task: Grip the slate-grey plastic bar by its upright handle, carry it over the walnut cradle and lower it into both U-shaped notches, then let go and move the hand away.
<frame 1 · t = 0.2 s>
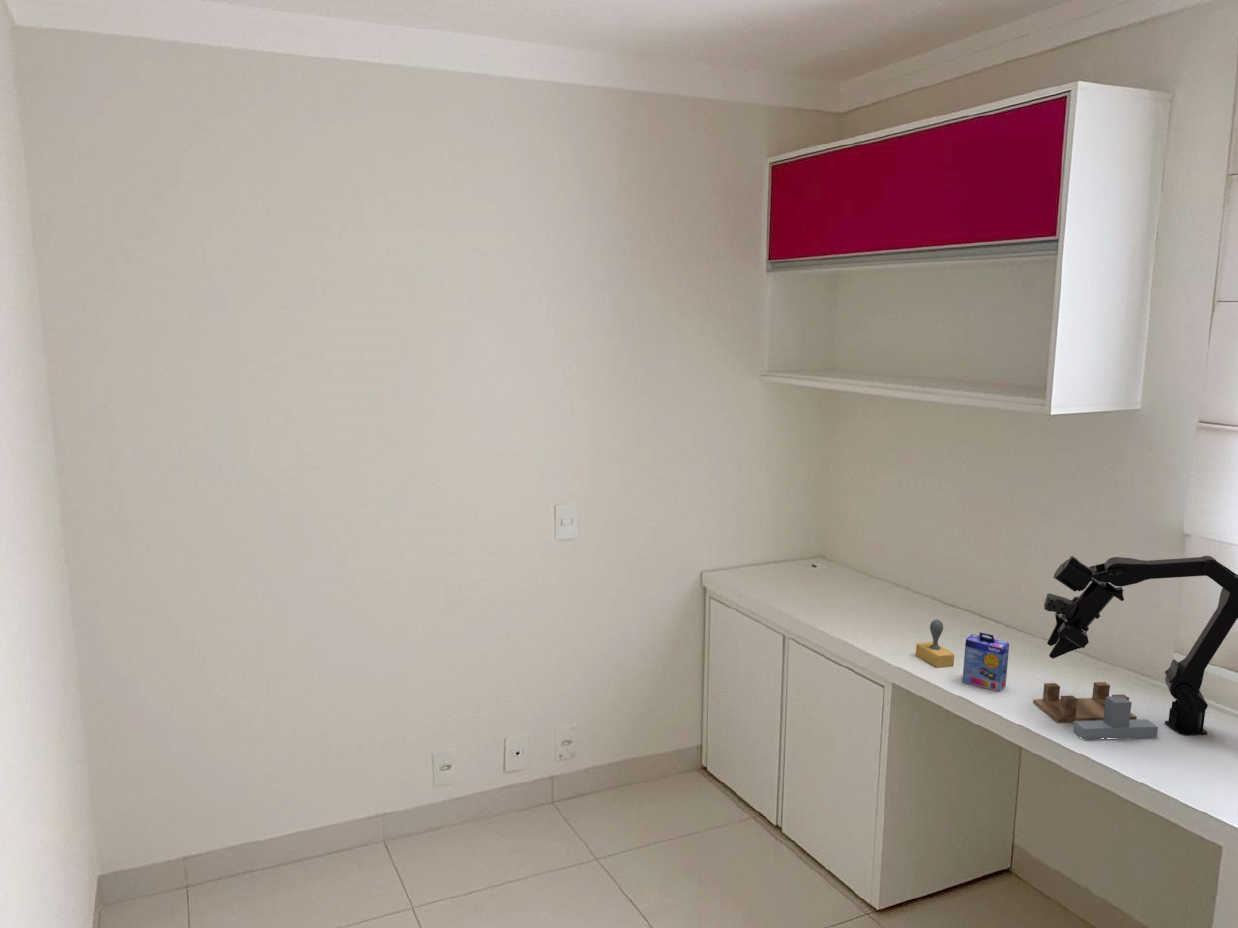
hand: (1049, 650, 227), 15 cm above the table, tool tilted 30°, fingers open, 9 cm apart
ink cartridge box: (983, 685, 243), on the table
bar: (1114, 735, 215), on the table
rubber stamp: (934, 661, 259), on the table
cradle: (1083, 711, 227), on the table
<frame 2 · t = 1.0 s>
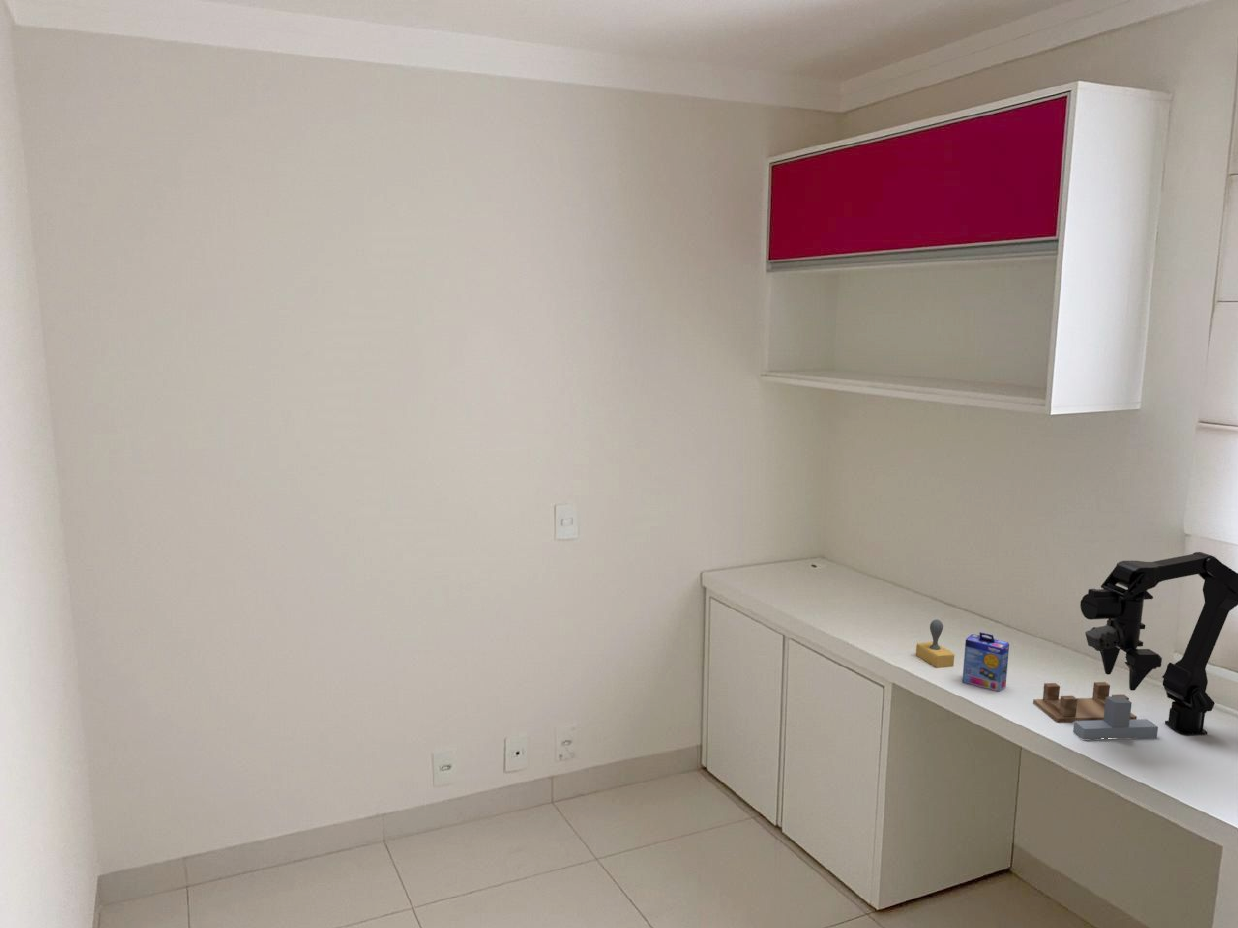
hand: (1119, 681, 213), 13 cm above the table, tool pointing down, fingers open, 9 cm apart
nothing on the table moved.
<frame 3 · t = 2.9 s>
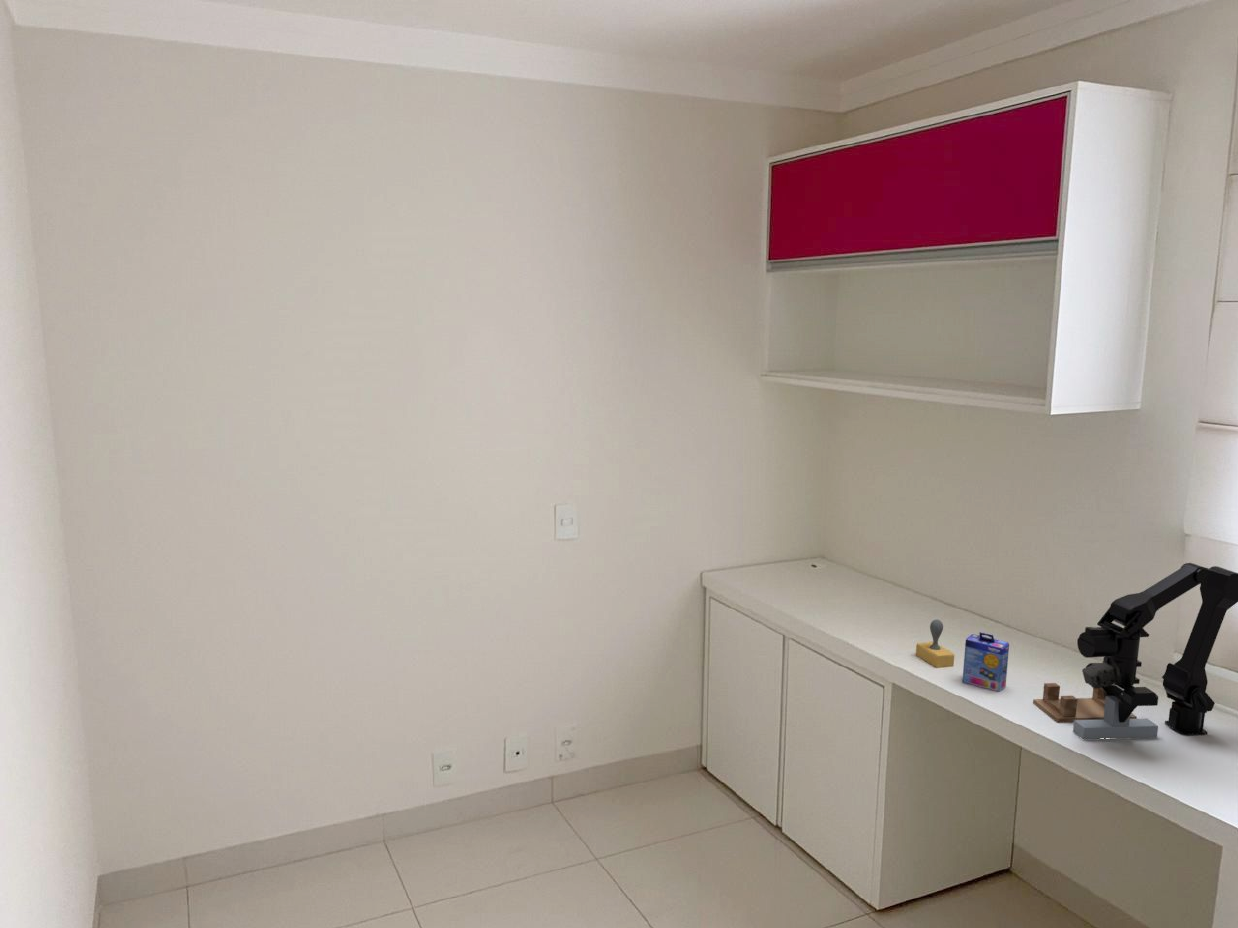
hand: (1116, 718, 214), 4 cm above the table, tool pointing down, fingers closed on bar, 3 cm apart
bar: (1114, 735, 215), on the table, touching gripper
everything else where it was.
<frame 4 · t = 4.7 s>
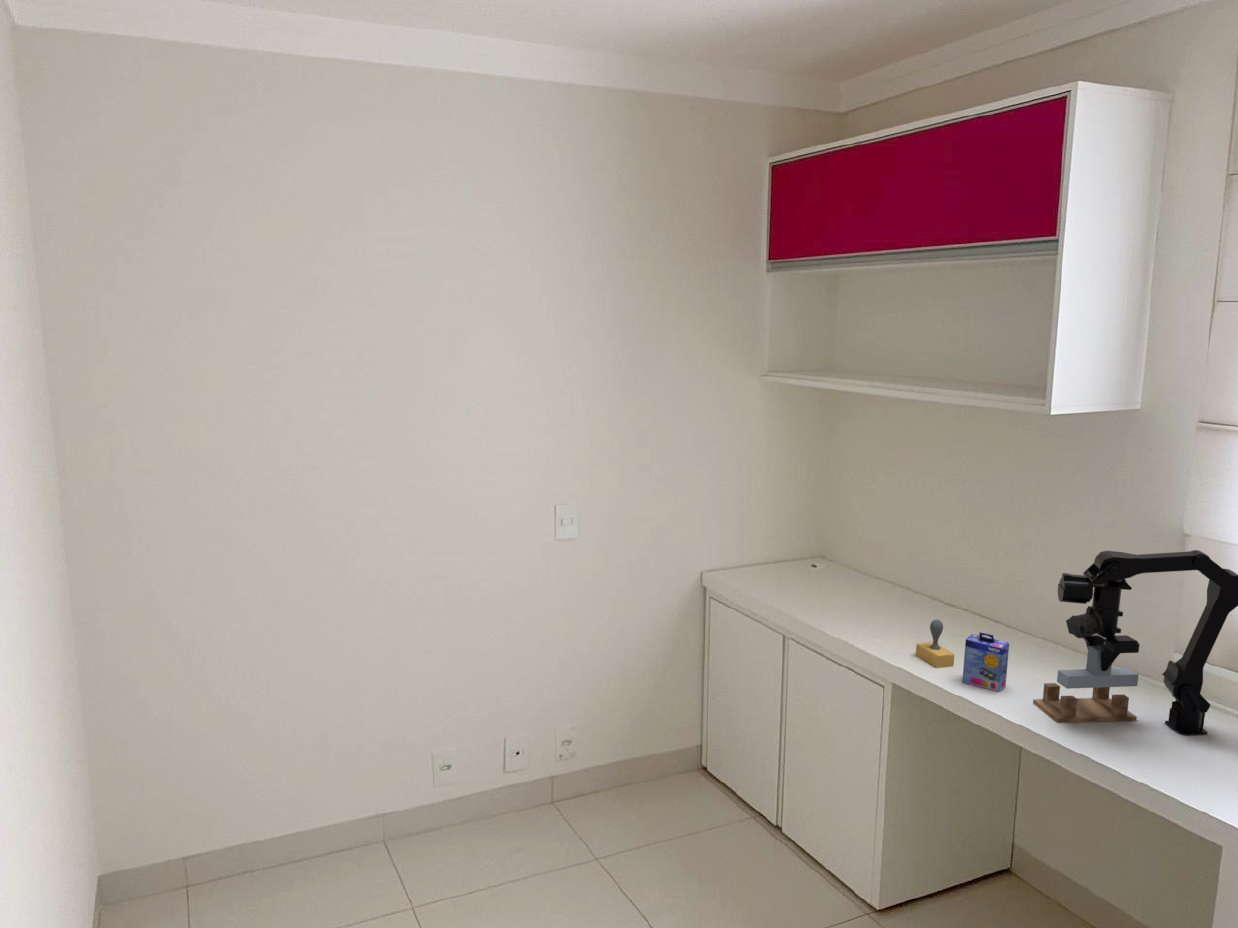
hand: (1098, 667, 221), 13 cm above the table, tool pointing down, fingers closed on bar, 3 cm apart
bar: (1096, 683, 222), point 9 cm above the table, touching gripper
everything else where it was.
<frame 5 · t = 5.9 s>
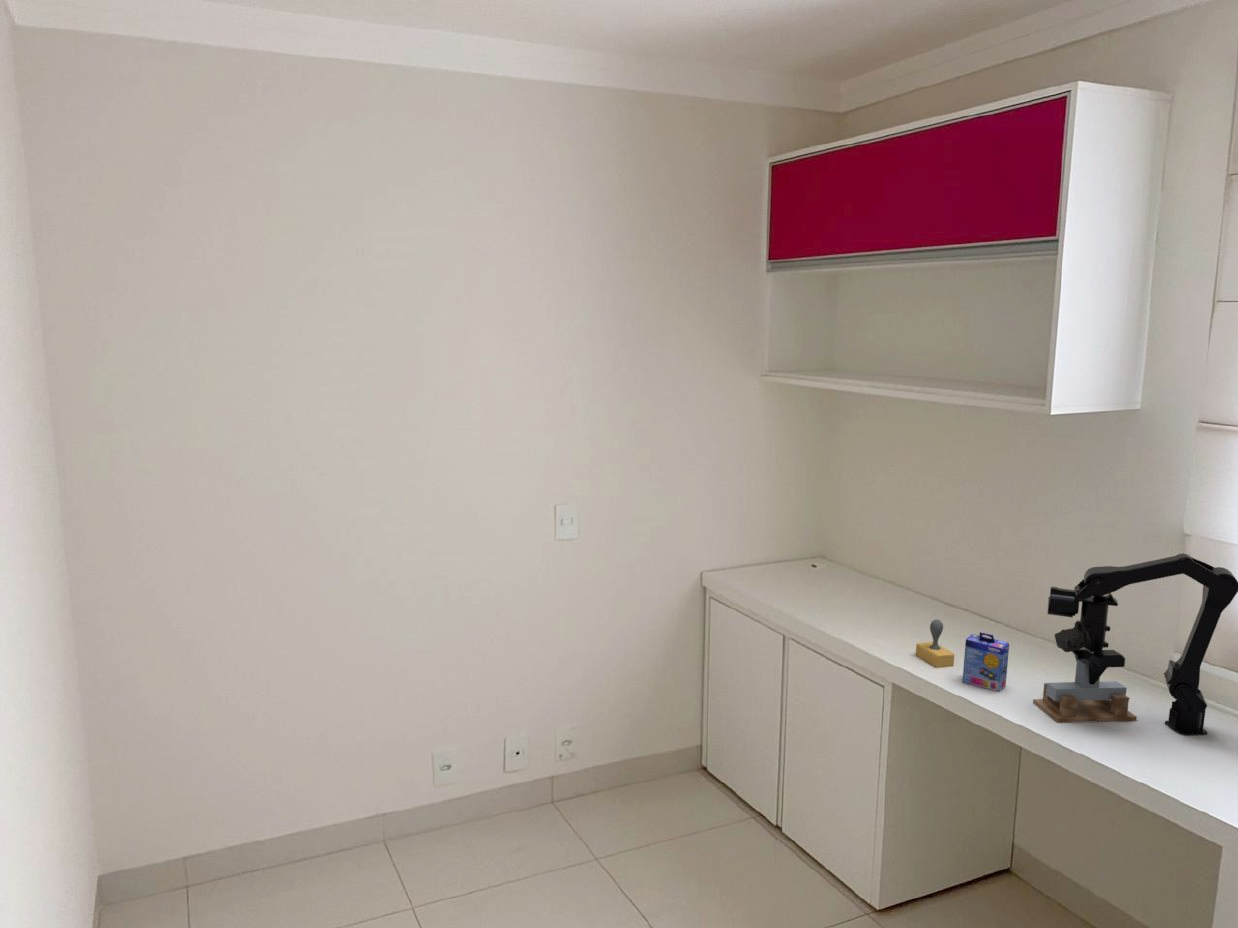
hand: (1087, 681, 226), 8 cm above the table, tool pointing down, fingers closed on bar, 3 cm apart
bar: (1085, 696, 227), point 4 cm above the table, touching gripper
everything else where it was.
when the fingers open (7 cm above the table, at t = 6.7 s): bar drops 1 cm, resting on cradle.
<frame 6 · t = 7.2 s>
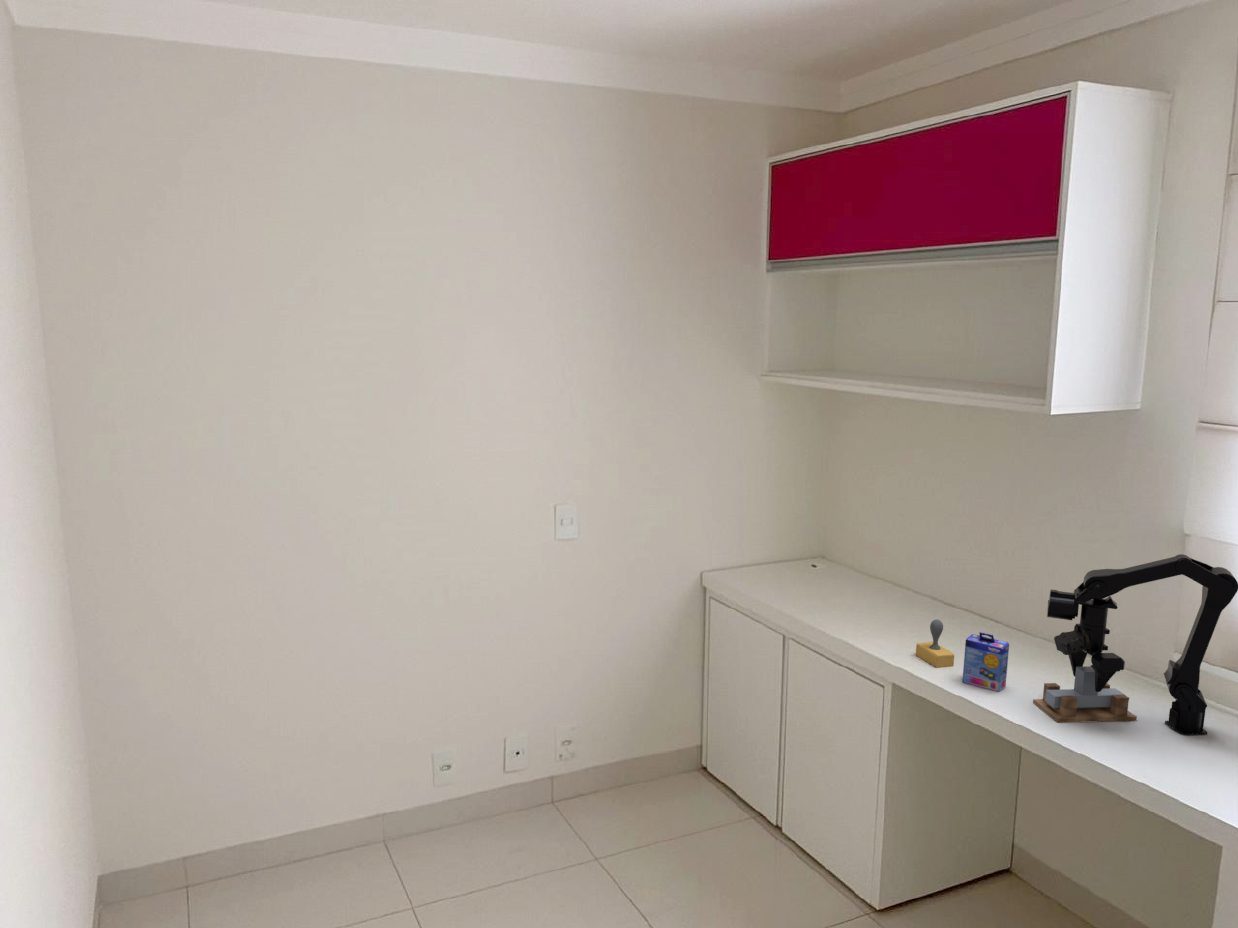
hand: (1086, 683, 226), 7 cm above the table, tool pointing down, fingers open, 9 cm apart
bar: (1084, 703, 227), point 2 cm above the table, touching cradle
everything else where it was.
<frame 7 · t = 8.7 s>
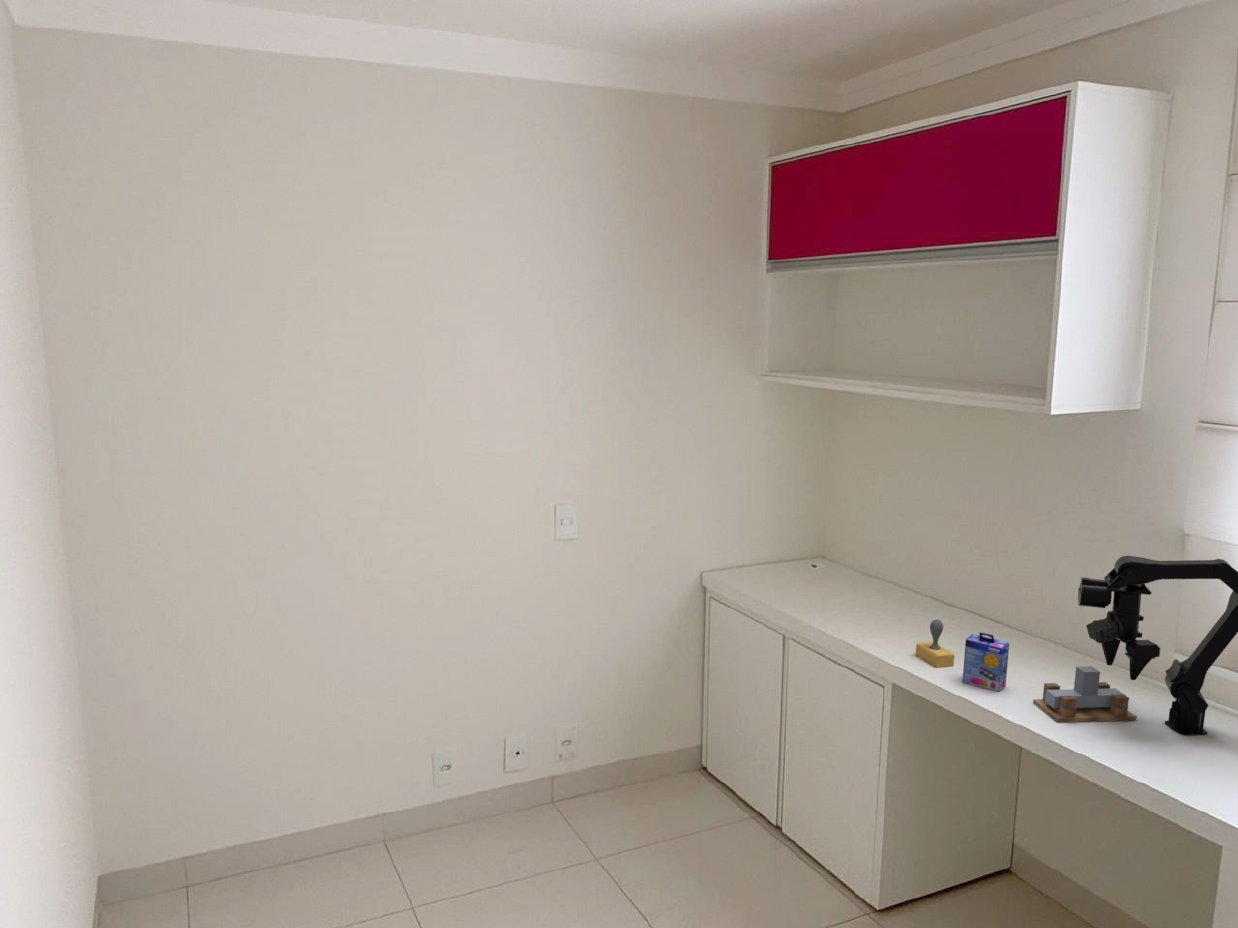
hand: (1120, 672, 222), 12 cm above the table, tool pointing down, fingers open, 9 cm apart
nothing on the table moved.
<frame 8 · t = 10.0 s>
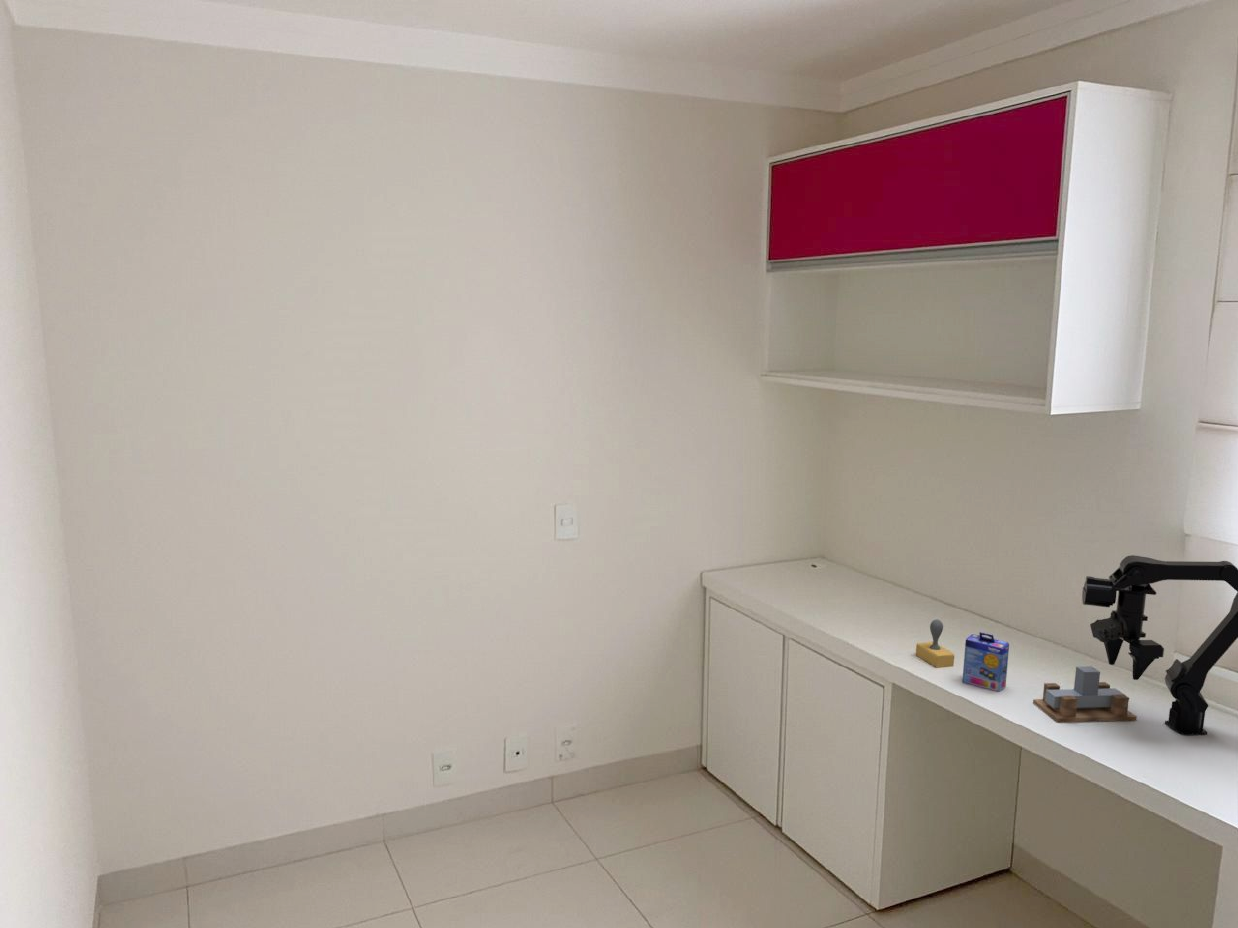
hand: (1123, 671, 222), 12 cm above the table, tool pointing down, fingers open, 9 cm apart
nothing on the table moved.
at the end: bar 0.0 cm off-centre on the cradle, point 2.0 cm above the cradle's base; bar tilted 0°; the gripper is holding nothing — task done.
